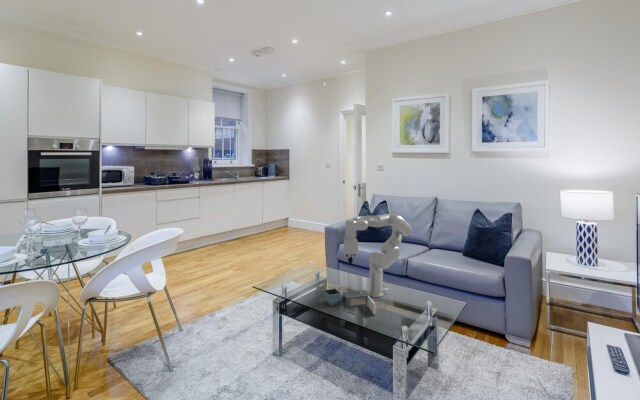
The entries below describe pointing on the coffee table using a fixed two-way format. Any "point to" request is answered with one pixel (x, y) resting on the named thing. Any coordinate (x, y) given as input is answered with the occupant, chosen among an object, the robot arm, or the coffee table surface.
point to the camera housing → (355, 298)
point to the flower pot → (332, 296)
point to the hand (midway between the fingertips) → (350, 262)
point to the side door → (371, 305)
